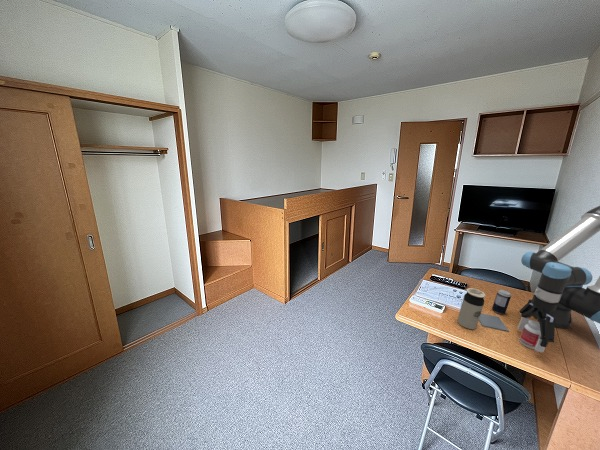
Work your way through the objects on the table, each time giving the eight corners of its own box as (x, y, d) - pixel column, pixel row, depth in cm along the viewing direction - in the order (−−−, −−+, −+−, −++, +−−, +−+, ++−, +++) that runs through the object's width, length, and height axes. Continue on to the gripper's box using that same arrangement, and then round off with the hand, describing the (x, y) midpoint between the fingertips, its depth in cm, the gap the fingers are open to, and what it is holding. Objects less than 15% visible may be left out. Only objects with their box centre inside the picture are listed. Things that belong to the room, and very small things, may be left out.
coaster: (498, 317, 126) (498, 316, 126) (508, 331, 116) (509, 330, 116) (474, 312, 129) (474, 311, 129) (482, 326, 119) (482, 325, 119)
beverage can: (507, 315, 128) (514, 295, 125) (495, 313, 129) (501, 294, 126) (501, 309, 133) (507, 290, 130) (489, 307, 134) (495, 288, 131)
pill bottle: (536, 351, 104) (545, 330, 101) (517, 343, 109) (525, 322, 106) (537, 344, 109) (546, 324, 105) (519, 337, 113) (527, 316, 110)
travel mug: (453, 318, 124) (462, 287, 119) (469, 319, 123) (479, 288, 118) (463, 329, 116) (472, 296, 111) (480, 330, 116) (490, 297, 111)
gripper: (519, 282, 114) (505, 320, 120) (554, 314, 91) (535, 358, 98) (538, 285, 112) (524, 324, 118) (579, 318, 89) (559, 364, 95)
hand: (529, 339), depth 108 cm, fingers open, 13 cm apart
